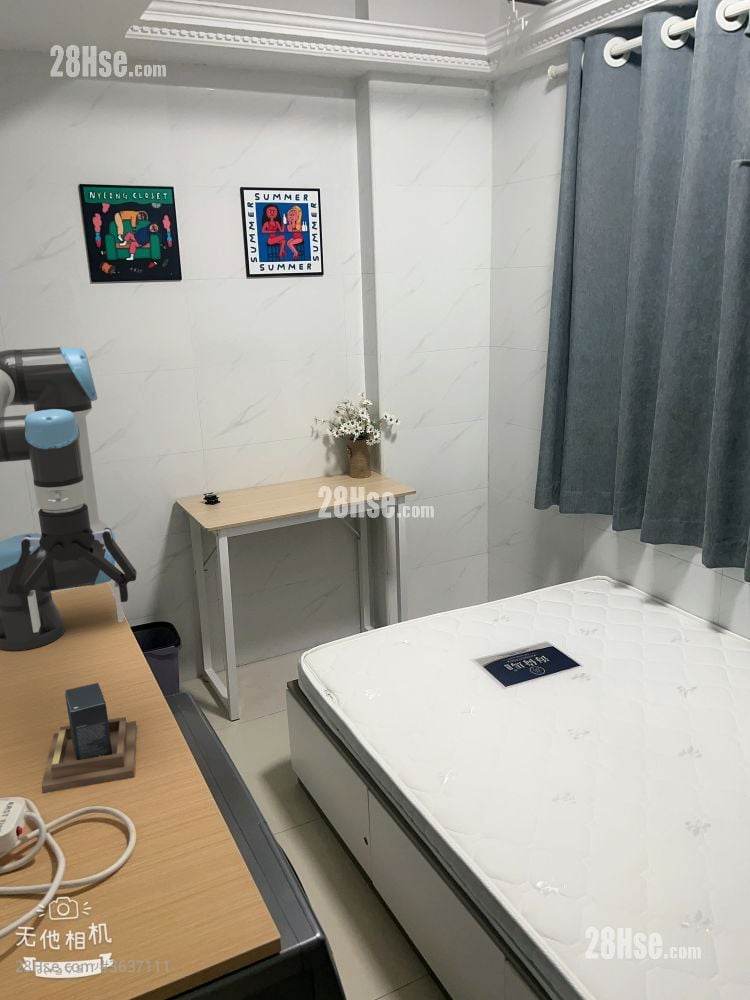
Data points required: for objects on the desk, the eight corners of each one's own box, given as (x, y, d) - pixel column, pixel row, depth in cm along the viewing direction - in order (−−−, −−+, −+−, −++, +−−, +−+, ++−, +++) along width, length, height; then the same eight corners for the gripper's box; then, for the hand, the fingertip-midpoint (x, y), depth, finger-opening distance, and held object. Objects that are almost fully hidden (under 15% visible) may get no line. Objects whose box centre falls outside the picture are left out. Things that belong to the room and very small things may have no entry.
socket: (54, 739, 134) (52, 723, 133) (136, 726, 137) (134, 711, 136) (42, 792, 120) (39, 775, 119) (133, 776, 123) (131, 760, 122)
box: (113, 757, 126) (106, 702, 123) (78, 768, 124) (69, 712, 121) (105, 734, 133) (98, 681, 130) (72, 743, 130) (63, 689, 127)
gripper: (-27, 520, 115) (-5, 643, 122) (141, 506, 122) (154, 623, 128) (-17, 506, 122) (4, 623, 129) (143, 492, 128) (155, 605, 135)
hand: (79, 623), depth 128 cm, fingers open, 13 cm apart
